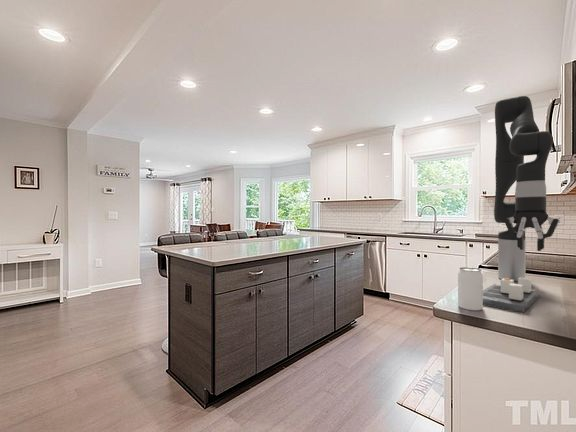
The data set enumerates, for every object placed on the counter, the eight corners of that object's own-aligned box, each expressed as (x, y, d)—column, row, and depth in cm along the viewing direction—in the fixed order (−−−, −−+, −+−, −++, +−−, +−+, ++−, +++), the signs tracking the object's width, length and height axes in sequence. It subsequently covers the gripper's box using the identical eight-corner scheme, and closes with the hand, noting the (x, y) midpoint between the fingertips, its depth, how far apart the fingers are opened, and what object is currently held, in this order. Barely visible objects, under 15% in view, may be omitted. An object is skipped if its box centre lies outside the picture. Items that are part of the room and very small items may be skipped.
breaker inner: (520, 289, 100) (520, 277, 100) (531, 290, 98) (531, 278, 98) (517, 290, 98) (518, 278, 98) (529, 292, 96) (529, 280, 96)
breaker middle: (503, 290, 99) (503, 277, 99) (514, 292, 97) (513, 278, 97) (500, 292, 97) (500, 278, 97) (511, 294, 95) (511, 280, 95)
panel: (494, 288, 110) (494, 283, 110) (539, 296, 100) (539, 289, 100) (473, 302, 94) (473, 295, 94) (523, 313, 84) (523, 305, 84)
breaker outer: (511, 296, 92) (511, 283, 92) (523, 298, 90) (523, 284, 90) (508, 298, 91) (508, 284, 90) (520, 300, 88) (521, 286, 88)
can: (486, 311, 86) (486, 271, 85) (462, 310, 87) (462, 270, 87) (477, 304, 92) (477, 267, 92) (454, 303, 93) (454, 266, 93)
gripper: (562, 195, 89) (562, 251, 89) (506, 197, 100) (506, 247, 100) (559, 194, 84) (559, 253, 84) (500, 196, 95) (500, 249, 95)
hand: (530, 249), depth 92 cm, fingers open, 3 cm apart
